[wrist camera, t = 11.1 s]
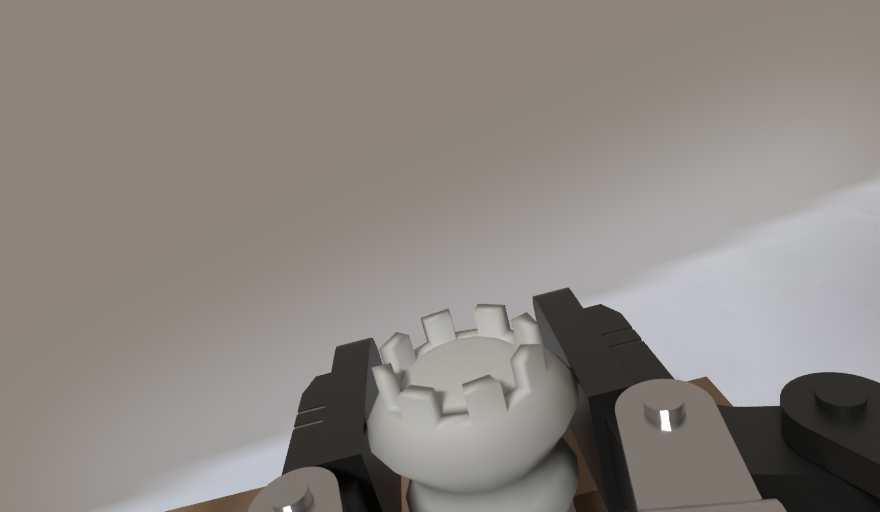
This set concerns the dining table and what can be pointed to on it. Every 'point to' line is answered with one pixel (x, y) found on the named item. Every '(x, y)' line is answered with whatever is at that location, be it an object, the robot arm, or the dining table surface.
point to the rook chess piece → (477, 416)
